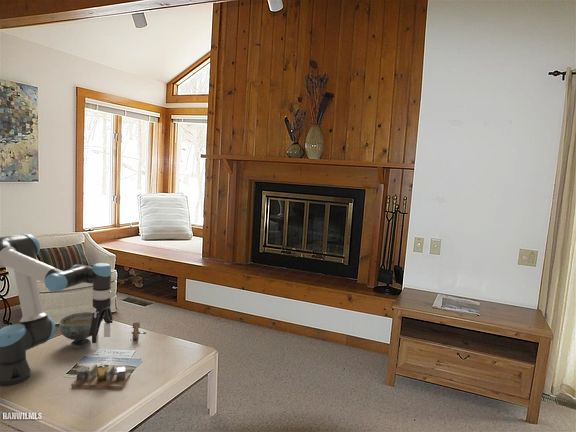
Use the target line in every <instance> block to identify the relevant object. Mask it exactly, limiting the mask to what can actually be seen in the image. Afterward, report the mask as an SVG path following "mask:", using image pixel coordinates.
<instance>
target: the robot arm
mask: <svg viewBox="0 0 576 432" xmlns="http://www.w3.org/2000/svg"><path fill="white" fill-rule="evenodd" d="M40 245H41V244H40V242H39V240H38V238H37V237H35V236H34V235H33V234H30V233H19V234H14V235H8V236H7V235H6V236H0V268H9V269H11V270H12V271H13V273H14V278H15V279H14V280H15V284H16V290H17V294H18V298H19V299H18V300H19V303H20V309H21V315H22V317H21V319H20V320H19V323H16V324H15V323H14V324H9V325H6V326H4V327H2V328H0V385H6V386H12V385H16V384H19V383H22V382H24V381H26V380H27V379H29V378H30V377H31V375H32V374H31V371H32V370H31V368H30V366H29V363H28V360H27V351H28V350H29V351H30V350H31V349H33V348H35V347H38V346H40V345H43V344H45V343H46V342H49V341H50V340H51V339H52V338H53V337H54V335H55V333H56V324H55V321H54V320H53V319H52V318H51V317H49V316H48V313H46V312H44V310H43V305H42V300H41V296H40V290H39V289H40V288H39V284H38V281H39V282H41V283H43V284H44V285H45V288H47V290H48V291H49V292H57V291H58V292H59V291H62V290H65V289H68V288H71V287H75V286H77V285H80V284H83V283H85V284H92V307H93V308H94V309H95V310H96V311H95V312H92V313H93V315H92V322H91V328H90V333H89V336H90V337H91V350H94V351H95V350H99V341H100V340H99V330H100V327H101V323H102V322H103V321H104V323H103V338H110V337H111V324H113V315H112V314H113V313H112V310H111V304H112V300H111V295H112V293H113V292H112V290H111V289H112V286H111V285H112V284H111V283H112V268H111V267H112V265H111V264H109V263H106V262H98V263H94V264H93V265H92V266H90V265H85V264H73V265H72V266H71V267H70V268H69V269H66V270H62V269H59V268H56V267H54V266H52V265H49V264H47V263H45V262H42V261H40V260H38V259H37V255H39V254H40V251H41V246H40Z"/></svg>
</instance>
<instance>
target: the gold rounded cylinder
mask: <svg viewBox="0 0 576 432" xmlns="http://www.w3.org/2000/svg"><path fill="white" fill-rule="evenodd" d="M109 368H110V365H109V363H104V362H101V363H100V364H97V381H106V371H107V370H108V369H109Z"/></svg>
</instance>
